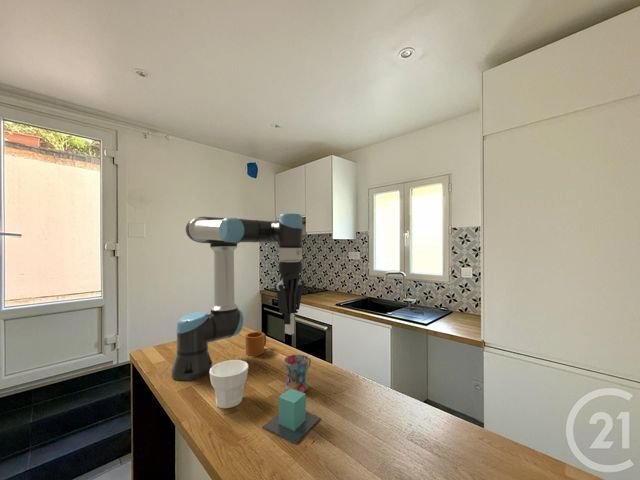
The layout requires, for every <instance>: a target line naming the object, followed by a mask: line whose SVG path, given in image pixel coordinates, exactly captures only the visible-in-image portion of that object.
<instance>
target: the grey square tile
mask: <svg viewBox="0 0 640 480" xmlns="http://www.w3.org/2000/svg"><path fill="white" fill-rule="evenodd" d="M320 420H321V417H320V416H318V415H316V414H313V413H311V412H307V411H306V420H305V421H304V422H303V423H302V424H301V425H300V426H299V427H298V428H297V429H296V430H295V431H293V430H291V429H289V428H286V427H284V426H282V425H280V424H279V412H278V413H277V414H276V415H275V416H273V417H272V418H271V419H270V420H268V421H267V422H266V423H264V424H263V425H262V429H263V430H265V431H267V432H269V433H270V434H271V433H272V434H274V435H276V436H278V437H280V438H281V439H284V440H286V441H288V442H290V443H292V444H294V445H296V446H297V445H298V444H299V442H300V441H301V440H302V439H304V437H306V435H307V434H308V433H309V432H310V431H311V430H312V429H313V428H314V427H315V426H316V425H317V424H318V423H319V421H320Z"/></svg>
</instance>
